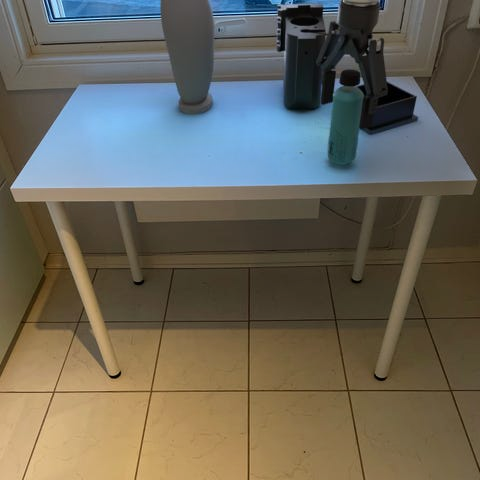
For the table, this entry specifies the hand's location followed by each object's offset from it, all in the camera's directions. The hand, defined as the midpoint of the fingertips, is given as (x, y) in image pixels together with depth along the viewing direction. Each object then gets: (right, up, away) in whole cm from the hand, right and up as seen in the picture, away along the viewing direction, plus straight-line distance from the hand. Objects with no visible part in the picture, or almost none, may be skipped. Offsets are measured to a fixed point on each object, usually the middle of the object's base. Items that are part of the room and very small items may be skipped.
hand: (345, 114), depth 110 cm
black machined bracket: (-7, +17, +33) cm, 38 cm away
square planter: (+13, +9, +24) cm, 29 cm away
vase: (-35, +15, +32) cm, 49 cm away
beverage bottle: (0, -8, +8) cm, 11 cm away
